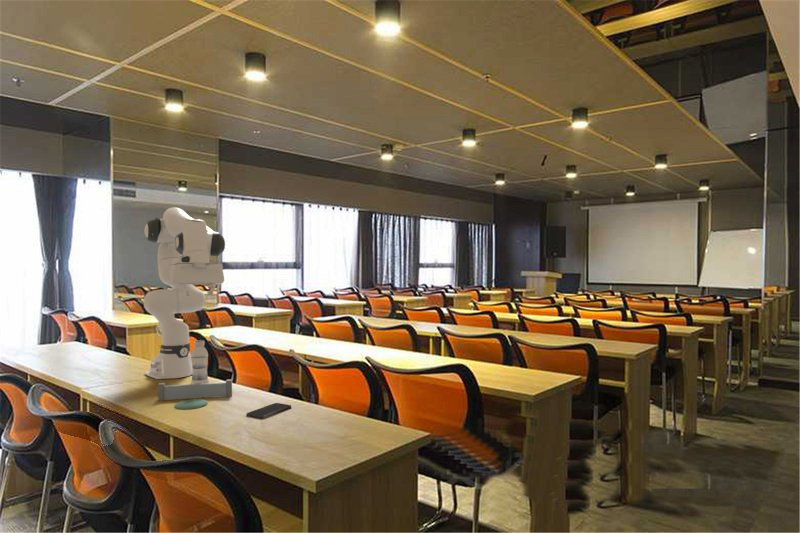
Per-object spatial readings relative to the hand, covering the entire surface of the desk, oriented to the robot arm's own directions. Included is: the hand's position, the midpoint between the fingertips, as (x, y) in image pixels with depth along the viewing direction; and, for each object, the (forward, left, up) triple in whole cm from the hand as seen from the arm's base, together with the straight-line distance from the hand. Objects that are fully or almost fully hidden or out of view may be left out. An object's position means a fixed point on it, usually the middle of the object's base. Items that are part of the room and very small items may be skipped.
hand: (198, 296), depth 195 cm
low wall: (0, -2, -38) cm, 38 cm away
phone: (+37, 0, -39) cm, 54 cm away
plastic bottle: (-7, +5, -39) cm, 40 cm away
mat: (+7, -9, -38) cm, 40 cm away
